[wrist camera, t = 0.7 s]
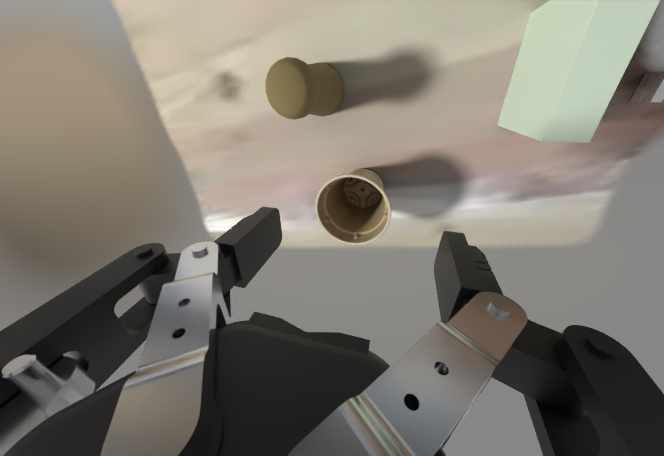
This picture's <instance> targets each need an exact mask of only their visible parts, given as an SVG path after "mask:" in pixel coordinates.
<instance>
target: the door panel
mask: <svg viewBox="0 0 664 456" xmlns="http://www.w3.org/2000/svg"><path fill="white" fill-rule="evenodd" d="M659 2H660V0H550V1H548V2H547V3H545V4H544V5H542V6H541V7H539V8H537V9H536V10H534V11H533V12H531V15H530V18H529V22H528V25H527V28H526V32H525V35H524V38H523V41H522V45H521V48H520V51H519V55H518V58H517V61H516V65H515V68H514V71H513V75H512V78H511V81H510V85H509V88H508V91H507V94H506V98H505V101H504V104H503V108H502V111H501V114H500V118H499V121H498V124H497V125H498V126H501V127H503V128H506V129H509V130H512V131H515V132H517V133H520V134H523V135H526V136H528V137H531V138H534V139H537V140H539V141H542V142H588V143H589V142H590V140H591V138H592V136H593V134H594V132H595V130H596V128H597V126H598V124H599V122H600V120H601V118H602V116H603V114H604V112H605V110H606V108H607V106H608V104H609V102H610V100H611V98H612V96H613V94H614V92H615V90H616V88H617V86H618V84H619V82H620V80H621V78H622V76H623V74H624V72H625V70H626V68H627V66H628V64H629V62H630V60H631V58H632V56H633V54H634V52H635V50H636V48H637V46H638V44H639V42H640V40H641V38H642V36H643V34H644V32H645V30H646V28H647V26H648V24H649V22H650V20H651V18H652V16H653V14H654V12H655V10H656V8H657V6H658V4H659Z"/></svg>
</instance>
